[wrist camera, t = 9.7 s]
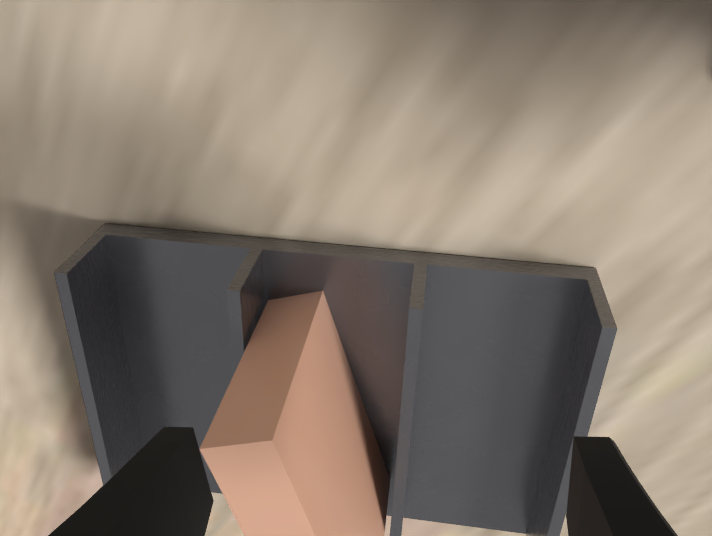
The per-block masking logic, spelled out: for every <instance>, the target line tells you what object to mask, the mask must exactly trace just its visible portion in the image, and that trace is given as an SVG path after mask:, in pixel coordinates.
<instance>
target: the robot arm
mask: <svg viewBox="0 0 712 536" xmlns="http://www.w3.org/2000/svg"><path fill="white" fill-rule="evenodd" d="M212 504H213V497H212V494H211V490H210V486H209V483H208V479H207V476H206V472H205V468H204V465H203V461H202V457H201V454H200V450H199V446H198V443H197V439H196V435H195V432H194V428H193V427H163V428H162V429H161V430H160V431H159V432H158V433H157V434H156V435H155V436H154V437H153V438H152V439H151V440H150V441H149V442H148V443H147V444H146V445H145V446H144V447H143V448H142V449H141V450H139V451H138V452H137V453H136V454H135V455H134V456H133V457H132V458H131V459H130V460H129V461H128V462H127V463H126V464H125V465H124V466H123V467H122V468H121V469H120V470H119V471H118V472H117V473H116V474H115V475H114V476H113V477H112V478H111V479H110V480H109V481H108V482H107V483H106V484H105V485H104V486H102V487H101V488H100V489H99V490H98V491H97V492H96V493H95V494H94V495H93V496H92V497H91V498H90V499H89V500H88V501H87V502H86V503H85V504H83V505H82V506H81V507H80V508H79V509H78V510H77V511H76V512H75V513H73V514H72V515H71V516H70V517H69V518H68V519H67V520H66V521H64V522H63V523H62V524H61V525H60V526H59V527H58V528H56V529H55V530H54V531H53V532H52V533H51V534H50V535H48V536H204V535H205V532H206V528H207V524H208V520H209V516H210V512H211V508H212ZM566 518H567V526H568V534H569V536H677V534H676V533H675V532H674V530H673V529H672V528H671V526H670V525H669V524H668V522H667V521H666V519H665V518H664V517H663V515H662V514H661V513H660V511H659V510H658V508H657V507H656V506H655V504H654V503H653V501H652V500H651V499H650V497H649V496H648V494H647V493H646V491H645V490H644V488H643V487H642V485H641V484H640V482H639V481H638V479H637V478H636V476H635V475H634V473H633V472H632V470H631V468H630V467H629V465H628V464H627V462H626V460H625V459H624V457H623V455H622V454H621V452H620V450H619V449H618V447H617V445H616V444H615V442H614V441H613V440H612V439H611V438H609V437H580V436H574V437H573V448H572V459H571V469H570V480H569V491H568V501H567V512H566Z"/></svg>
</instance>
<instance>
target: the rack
mask: <svg viewBox="0 0 712 536" xmlns="http://www.w3.org/2000/svg"><path fill="white" fill-rule="evenodd" d="M54 275H55V279H56V283H57V288H58V292H59V296H60V301H61V305H62V309H63V314H64V318H65V322H66V326H67V331H68V335H69V339H70V344H71V348H72V352H73V357H74V361H75V365H76V370H77V374H78V378H79V383H80V387H81V391H82V396H83V400H84V404H85V408H86V413H87V417H88V421H89V426H90V430H91V434H92V439H93V443H94V447H95V452H96V456H97V460H98V465H99V469H100V473H101V478H102V482H103V486H104V485H105V484H106V483H107V482H108V481H109V480H110V479H111V478H112V477H113V476H114V475H115V474H116V473H117V472H118V471H119V470H120V469H121V468H122V467H123V466H124V465H125V464H126V463H127V462H128V461H129V460H130V459H131V458H132V457H133V456H134V455H135V454H136V453H137V452H138V451H139V450H141V449H142V448H143V447H144V446H145V445H146V444H147V443H148V442H149V441H150V440H151V439H152V438H153V437H154V436H155V435H156V434H157V433H158V432H159V431H160V430H161V429H162V428H163V427H193V428H194V432H195V435H196V439H197V443H198V446H199V450H200V447H201V445H202V442H203V440H204V438H205V436H206V434H207V432H208V429H209V427H210V425H211V423H212V421H213V419H214V416H215V414H216V412H217V410H218V408H219V406H220V403H221V401H222V399H223V397H224V395H225V393H226V390H227V388H228V386H229V384H230V382H231V380H232V377H233V375H234V373H235V371H236V369H237V367H238V364H239V362H240V360H241V358H242V356H243V354H244V351H245V349H246V347H247V345H248V343H249V341H250V338H251V336H252V334H253V332H254V330H255V328H256V325H257V323H258V321H259V319H260V317H261V315H262V312H263V310H264V308H265V306H266V304H267V302H268V300H272V299H278V298H284V297H289V296H295V295H301V294H306V293H312V292H317V291H323V292H324V295H325V298H326V301H327V303H328V306H329V309H330V312H331V315H332V317H333V320H334V323H335V326H336V329H337V331H338V334H339V337H340V340H341V343H342V346H343V348H344V351H345V354H346V357H347V360H348V362H349V365H350V368H351V371H352V374H353V376H354V379H355V382H356V385H357V388H358V390H359V393H360V396H361V399H362V402H363V404H364V407H365V410H366V413H367V416H368V418H369V421H370V424H371V427H372V430H373V432H374V435H375V438H376V441H377V444H378V446H379V449H380V452H381V455H382V458H383V461H384V463H385V466H386V469H387V472H388V475H389V477H390V489H389V497H388V506H387V514H386V515H388V516H392V517H391V529H390V536H401V532H402V521H403V518H411V519H418V520H426V521H433V522H441V523H449V524H456V525H464V526H471V527H479V528H486V529H494V530H502V531H509V532H517V533H524V534H526V536H560V532H561V529H562V525H563V521H564V518H565V514H566V511H567V501H568V491H569V480H570V469H571V459H572V448H573V437H574V436H580V437H587V435H588V432H589V428H590V425H591V421H592V417H593V414H594V410H595V407H596V403H597V399H598V396H599V392H600V389H601V385H602V381H603V378H604V374H605V371H606V367H607V364H608V360H609V356H610V353H611V349H612V346H613V342H614V338H615V335H616V331H617V327H616V324H615V321H614V318H613V315H612V313H611V310H610V307H609V304H608V301H607V298H606V295H605V293H604V290H603V287H602V284H601V281H600V278H599V276H598V273H597V270H596V268H589V267H578V266H567V265H556V264H545V263H534V262H523V261H512V260H501V259H490V258H479V257H468V256H458V255H447V254H436V253H425V252H414V251H403V250H392V249H381V248H370V247H359V246H348V245H337V244H326V243H315V242H304V241H293V240H282V239H271V238H260V237H249V236H238V235H227V234H216V233H205V232H194V231H183V230H172V229H161V228H150V227H139V226H128V225H117V224H106V223H105V224H104V225H103V226H102V227H101V228H100V229H99V230H98V231H97V232H96V233H95V234H94V235H93V236H92V237H91V238H90V239H89V240H87V241H86V242H85V243H84V244H83V245H82V246H81V247H80V248H79V249H78V250H77V251H76V252H75V253H74V254H73V255H72V256H71V257H70V258H69V259H68V260H67V261H66V262H64V263H63V264H62V265H61V266H60V267H59V268H58V269H57V270H56V271H55V272H54ZM200 454H201V457H202V461H203V465H204V468H205V472H206V476H207V479H208V483H209V486H210V490H211V492H214V493H221V494H223V493H222V491H221V489H220V488H219V486H218V484H217V482H216V480H215V478H214V476H213V474H212V472H211V470H210V468H209V466H208V465H207V463H206V461H205V459H204V457H203V455H202V453H201V451H200Z"/></svg>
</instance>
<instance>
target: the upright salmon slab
mask: <svg viewBox="0 0 712 536" xmlns="http://www.w3.org/2000/svg"><path fill="white" fill-rule="evenodd" d="M200 451H201V453H202V455H203V457H204V459H205V461H206V463H207V465H208V466H209V468H210V470H211V472H212V474H213V476H214V478H215V480H216V482H217V484H218V486H219V488H220V489H221V491H222V493H223V495H224V497H225V499H226V501H227V503H228V505H229V507H230V509H231V510H232V512H233V514H234V516H235V518H236V520H237V522H238V524H239V526H240V528H241V530H242V531H243V533H244V535H245V536H384V531H385V523H386V514H387V506H388V497H389V489H390V477H389V475H388V472H387V469H386V466H385V463H384V461H383V458H382V455H381V452H380V449H379V446H378V444H377V441H376V438H375V435H374V432H373V430H372V427H371V424H370V421H369V418H368V416H367V413H366V410H365V407H364V404H363V402H362V399H361V396H360V393H359V390H358V388H357V385H356V382H355V379H354V376H353V374H352V371H351V368H350V365H349V362H348V360H347V357H346V354H345V351H344V348H343V346H342V343H341V340H340V337H339V334H338V331H337V329H336V326H335V323H334V320H333V317H332V315H331V312H330V309H329V306H328V303H327V301H326V298H325V295H324V292H323V291H317V292H312V293H306V294H301V295H295V296H289V297H284V298H278V299H272V300H268V302H267V304H266V306H265V308H264V310H263V312H262V315H261V317H260V319H259V321H258V323H257V325H256V328H255V330H254V332H253V334H252V336H251V338H250V341H249V343H248V345H247V347H246V349H245V351H244V354H243V356H242V358H241V360H240V362H239V364H238V367H237V369H236V371H235V373H234V375H233V377H232V380H231V382H230V384H229V386H228V388H227V390H226V393H225V395H224V397H223V399H222V401H221V403H220V406H219V408H218V410H217V412H216V414H215V416H214V419H213V421H212V423H211V425H210V427H209V429H208V432H207V434H206V436H205V438H204V440H203V442H202V445H201V447H200Z"/></svg>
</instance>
